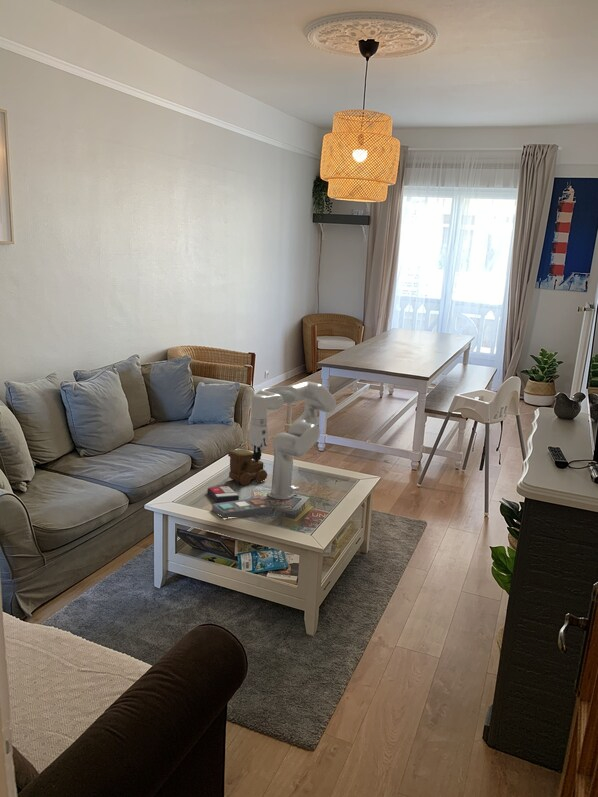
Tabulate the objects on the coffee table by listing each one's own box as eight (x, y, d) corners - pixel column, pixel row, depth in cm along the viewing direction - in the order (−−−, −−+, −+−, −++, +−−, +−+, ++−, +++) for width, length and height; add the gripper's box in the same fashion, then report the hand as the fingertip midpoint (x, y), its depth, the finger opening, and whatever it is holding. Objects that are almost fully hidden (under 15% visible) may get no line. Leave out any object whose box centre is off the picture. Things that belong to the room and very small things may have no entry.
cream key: (244, 506, 284) (244, 501, 283) (249, 510, 280) (249, 505, 279) (234, 507, 281) (234, 502, 280) (239, 511, 277) (240, 506, 276)
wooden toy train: (237, 487, 312) (239, 455, 309) (225, 480, 320) (227, 449, 317) (269, 481, 325) (271, 451, 322) (256, 475, 333) (258, 445, 330)
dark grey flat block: (258, 503, 292) (258, 497, 291) (271, 512, 282) (271, 505, 282) (212, 510, 279) (212, 503, 278) (223, 519, 269) (224, 512, 268)
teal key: (228, 508, 279) (228, 503, 279) (233, 512, 275) (234, 507, 275) (218, 510, 277) (218, 504, 276) (223, 514, 272) (223, 508, 272)
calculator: (228, 485, 304) (239, 494, 290) (228, 493, 305) (238, 503, 291) (207, 486, 299) (216, 495, 286) (206, 495, 300) (216, 504, 286)
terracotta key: (259, 504, 288) (259, 499, 288) (264, 508, 284) (265, 502, 284) (249, 505, 285) (250, 500, 285) (255, 509, 281) (255, 504, 281)
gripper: (274, 424, 279) (272, 463, 283) (257, 416, 291) (255, 454, 295) (260, 426, 275) (258, 465, 279) (243, 418, 287) (241, 456, 291)
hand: (256, 459), depth 287 cm, fingers closed
